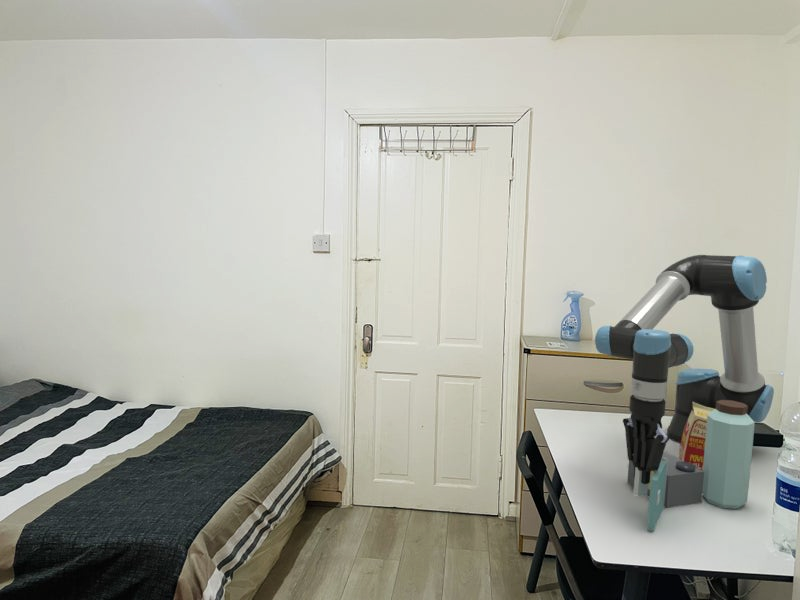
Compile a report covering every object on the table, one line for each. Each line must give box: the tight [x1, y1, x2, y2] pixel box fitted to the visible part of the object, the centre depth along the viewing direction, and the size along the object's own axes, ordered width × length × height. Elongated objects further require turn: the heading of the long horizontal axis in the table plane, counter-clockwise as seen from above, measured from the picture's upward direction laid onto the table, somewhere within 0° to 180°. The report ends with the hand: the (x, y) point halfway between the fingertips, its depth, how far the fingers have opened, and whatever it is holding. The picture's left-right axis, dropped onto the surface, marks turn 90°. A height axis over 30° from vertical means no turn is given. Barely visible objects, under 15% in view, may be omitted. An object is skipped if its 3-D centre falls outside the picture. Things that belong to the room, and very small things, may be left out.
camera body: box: [626, 451, 704, 508], centre depth 143 cm, size 11×14×9 cm
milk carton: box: [678, 402, 714, 471], centre depth 156 cm, size 9×9×20 cm
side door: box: [647, 457, 668, 532], centre depth 129 cm, size 15×2×12 cm, turn 146°
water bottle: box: [702, 400, 756, 510], centre depth 138 cm, size 10×10×25 cm
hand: (640, 494), depth 131 cm, fingers closed
